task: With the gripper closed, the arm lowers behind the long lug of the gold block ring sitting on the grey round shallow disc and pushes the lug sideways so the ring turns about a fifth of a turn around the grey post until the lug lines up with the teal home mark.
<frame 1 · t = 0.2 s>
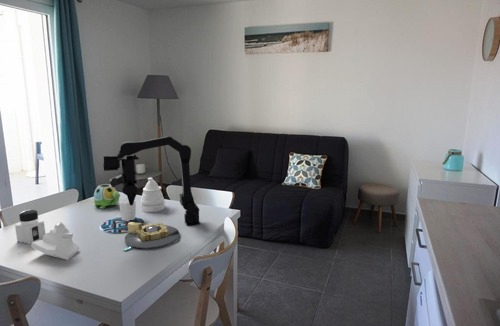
hand: (131, 202, 152), 14 cm above the table, fingers open, 9 cm apart
container: (31, 239, 144), on the table
grey round shallow disc: (152, 237, 146), on the table
white stepped peaked piece: (59, 255, 130), on the table
honey pot: (153, 208, 186), on the table
white cup: (128, 219, 168), on the table
turtle holder: (108, 206, 190), on the table
gold block ring: (148, 229, 146), point 4 cm above the table, hinge at -35.0°
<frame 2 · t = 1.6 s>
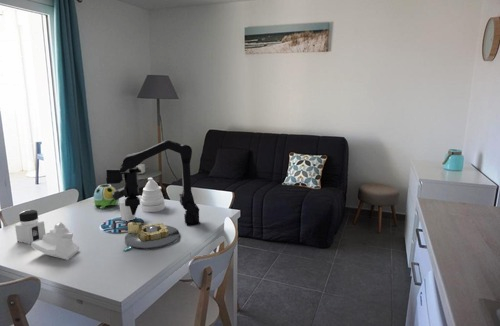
hand: (133, 214, 153), 8 cm above the table, fingers closed
nothing on the table moved.
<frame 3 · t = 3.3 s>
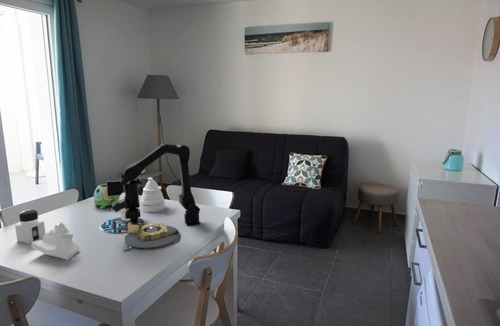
hand: (133, 226, 151), 3 cm above the table, fingers closed
gold block ring: (148, 229, 146), point 4 cm above the table, hinge at -34.9°, touching gripper
everything else where it was.
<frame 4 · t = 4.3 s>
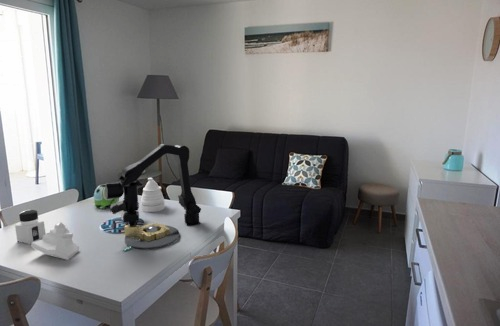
hand: (131, 229, 147), 3 cm above the table, fingers closed
gold block ring: (147, 230, 145), point 4 cm above the table, hinge at -15.4°, touching gripper
everything else where it was.
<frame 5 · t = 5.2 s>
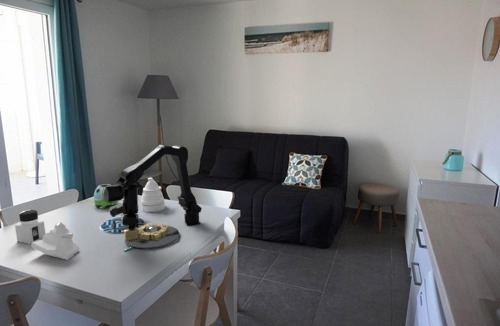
hand: (131, 232, 143), 4 cm above the table, fingers closed
gold block ring: (147, 230, 144), point 4 cm above the table, hinge at 12.1°, touching gripper
everything else where it was.
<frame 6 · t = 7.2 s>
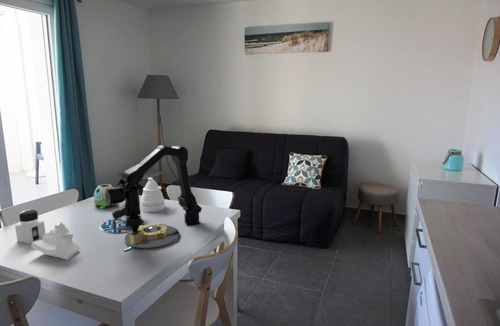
hand: (134, 234, 143), 3 cm above the table, fingers closed
gold block ring: (148, 231, 144), point 4 cm above the table, hinge at 42.1°
everything else where it was.
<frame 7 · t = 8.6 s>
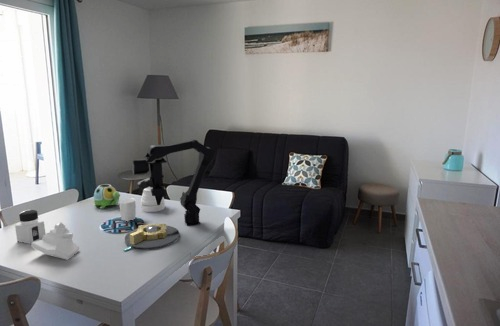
hand: (158, 204, 154), 12 cm above the table, fingers closed
nothing on the table moved.
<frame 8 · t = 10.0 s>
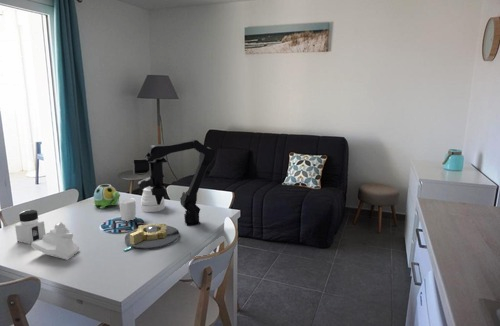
hand: (158, 204, 154), 12 cm above the table, fingers closed
nothing on the table moved.
at the end: gold block ring at +42° (first picture: -35°) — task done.
